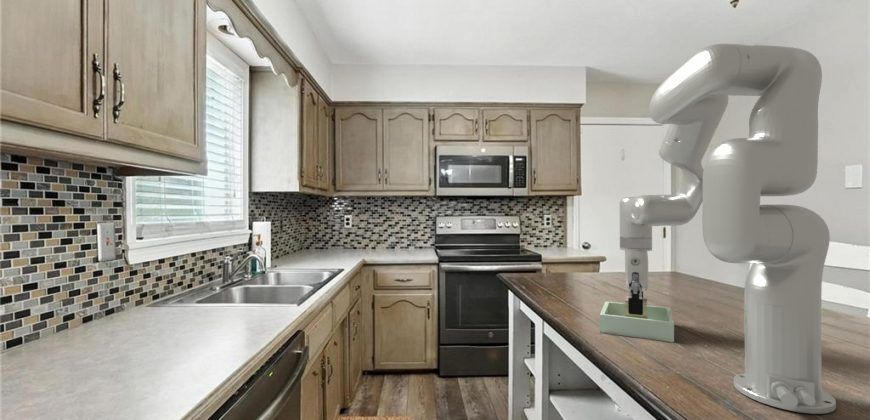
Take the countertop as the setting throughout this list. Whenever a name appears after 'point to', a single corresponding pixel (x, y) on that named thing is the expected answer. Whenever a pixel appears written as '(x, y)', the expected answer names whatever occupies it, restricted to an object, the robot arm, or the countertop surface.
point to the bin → (637, 322)
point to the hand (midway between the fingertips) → (636, 309)
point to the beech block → (634, 314)
